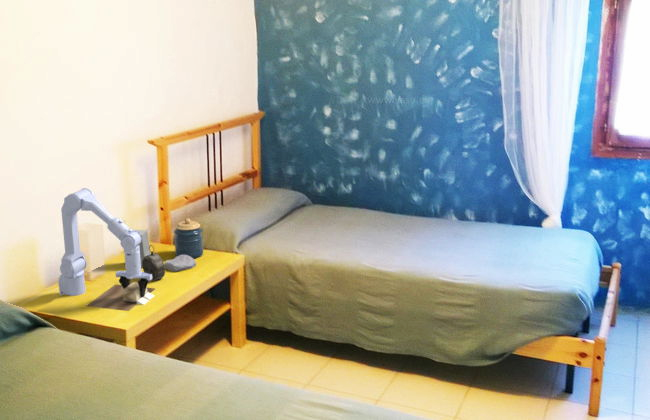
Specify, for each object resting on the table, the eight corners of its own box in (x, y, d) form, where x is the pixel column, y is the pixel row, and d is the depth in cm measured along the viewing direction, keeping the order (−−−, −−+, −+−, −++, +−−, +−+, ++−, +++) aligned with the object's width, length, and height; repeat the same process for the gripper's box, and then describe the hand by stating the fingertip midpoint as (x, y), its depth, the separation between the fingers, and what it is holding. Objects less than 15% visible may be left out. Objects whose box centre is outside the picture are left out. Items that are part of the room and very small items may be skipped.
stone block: (198, 269, 310) (183, 260, 315) (199, 260, 307) (184, 251, 313) (177, 278, 301) (162, 268, 306) (178, 268, 299) (163, 259, 304)
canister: (193, 248, 331) (192, 212, 326) (209, 255, 322) (207, 218, 317) (169, 254, 323) (167, 218, 318) (184, 261, 313) (182, 224, 308)
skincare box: (151, 263, 312) (149, 229, 307) (144, 268, 305) (142, 234, 300) (134, 261, 313) (131, 228, 309) (126, 267, 306) (124, 233, 302)
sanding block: (123, 301, 266) (122, 290, 265) (134, 292, 275) (133, 281, 273) (136, 302, 265) (135, 291, 264) (147, 293, 273) (146, 282, 272)
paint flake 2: (142, 298, 270) (143, 295, 269) (147, 294, 274) (148, 291, 273) (151, 303, 270) (152, 300, 269) (155, 299, 273) (156, 296, 273)
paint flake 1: (136, 303, 265) (137, 300, 265) (141, 299, 269) (142, 296, 269) (145, 308, 265) (146, 305, 265) (150, 304, 269) (151, 301, 268)
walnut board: (85, 309, 263) (85, 305, 263) (115, 287, 284) (115, 284, 284) (129, 314, 260) (128, 310, 259) (155, 292, 280) (155, 288, 280)
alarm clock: (166, 283, 289) (164, 246, 284) (155, 286, 285) (153, 249, 281) (151, 276, 296) (149, 240, 292) (140, 279, 292) (138, 243, 288)
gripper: (110, 264, 264) (113, 297, 268) (145, 268, 261) (147, 301, 264) (119, 258, 270) (122, 290, 274) (153, 261, 267) (156, 294, 271)
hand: (135, 295), depth 270 cm, fingers closed on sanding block, 6 cm apart
